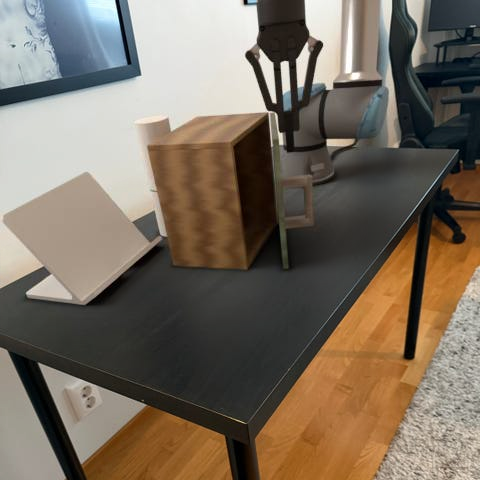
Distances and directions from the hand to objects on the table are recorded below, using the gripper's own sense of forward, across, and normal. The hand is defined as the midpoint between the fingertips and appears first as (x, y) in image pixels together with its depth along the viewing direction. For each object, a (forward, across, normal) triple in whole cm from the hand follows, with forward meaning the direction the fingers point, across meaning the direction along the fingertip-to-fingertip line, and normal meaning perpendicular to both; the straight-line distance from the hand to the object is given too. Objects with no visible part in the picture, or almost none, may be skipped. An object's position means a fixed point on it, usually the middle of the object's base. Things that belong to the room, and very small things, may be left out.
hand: (290, 150), depth 86 cm
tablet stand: (+20, +41, +2) cm, 46 cm away
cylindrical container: (+20, +28, -15) cm, 38 cm away
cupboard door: (+19, 0, -2) cm, 19 cm away
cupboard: (+19, +14, -5) cm, 25 cm away
